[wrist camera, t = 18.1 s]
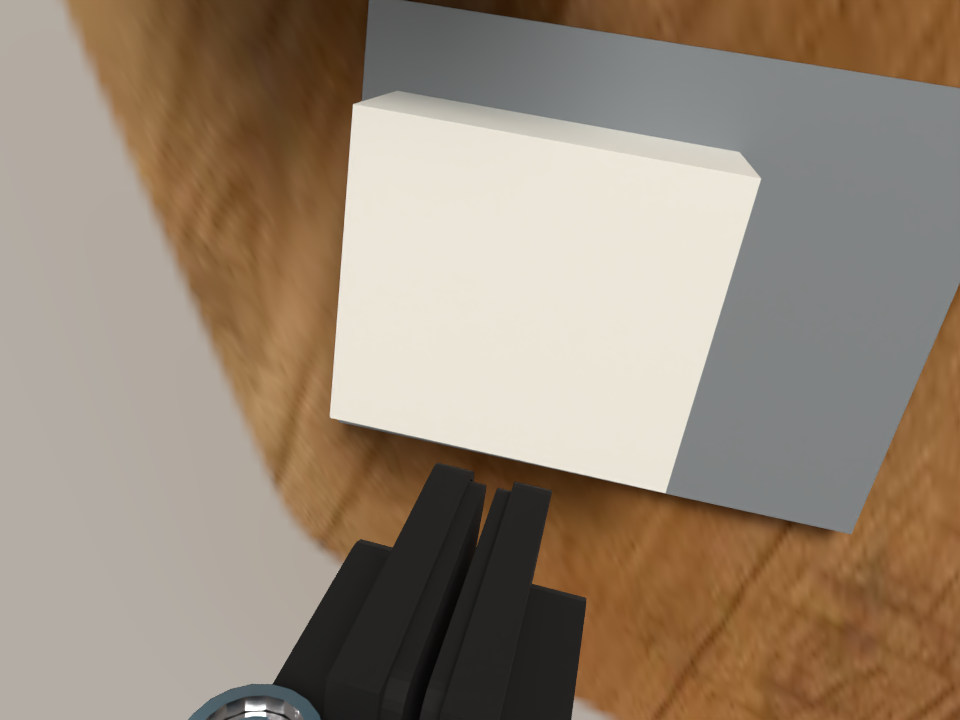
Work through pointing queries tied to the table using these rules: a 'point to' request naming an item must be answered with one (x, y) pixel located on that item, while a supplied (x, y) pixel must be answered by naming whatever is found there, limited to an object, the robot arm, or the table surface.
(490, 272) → the slab
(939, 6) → the table surface
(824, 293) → the board
